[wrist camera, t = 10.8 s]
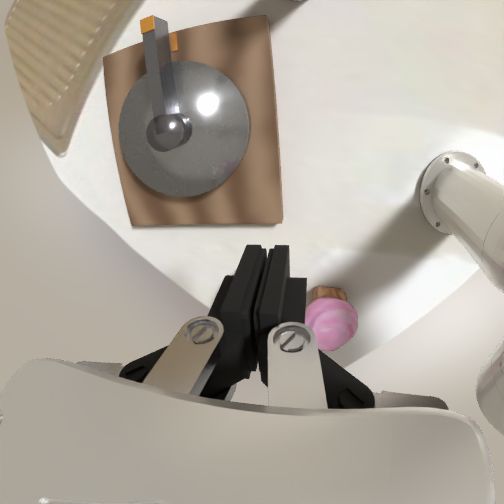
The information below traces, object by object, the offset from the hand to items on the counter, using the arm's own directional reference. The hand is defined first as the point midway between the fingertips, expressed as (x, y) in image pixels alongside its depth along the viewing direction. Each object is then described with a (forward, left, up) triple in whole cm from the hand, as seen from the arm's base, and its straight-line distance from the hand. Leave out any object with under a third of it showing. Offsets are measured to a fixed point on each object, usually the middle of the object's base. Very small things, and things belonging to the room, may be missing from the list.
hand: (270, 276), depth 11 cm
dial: (+14, -8, -25) cm, 30 cm away
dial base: (+14, -5, -27) cm, 31 cm away
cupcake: (-5, +23, -27) cm, 36 cm away
